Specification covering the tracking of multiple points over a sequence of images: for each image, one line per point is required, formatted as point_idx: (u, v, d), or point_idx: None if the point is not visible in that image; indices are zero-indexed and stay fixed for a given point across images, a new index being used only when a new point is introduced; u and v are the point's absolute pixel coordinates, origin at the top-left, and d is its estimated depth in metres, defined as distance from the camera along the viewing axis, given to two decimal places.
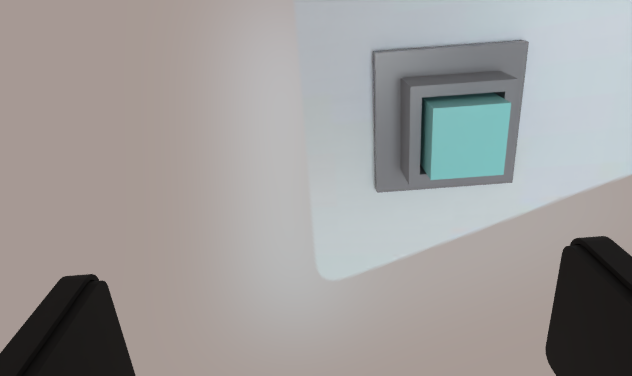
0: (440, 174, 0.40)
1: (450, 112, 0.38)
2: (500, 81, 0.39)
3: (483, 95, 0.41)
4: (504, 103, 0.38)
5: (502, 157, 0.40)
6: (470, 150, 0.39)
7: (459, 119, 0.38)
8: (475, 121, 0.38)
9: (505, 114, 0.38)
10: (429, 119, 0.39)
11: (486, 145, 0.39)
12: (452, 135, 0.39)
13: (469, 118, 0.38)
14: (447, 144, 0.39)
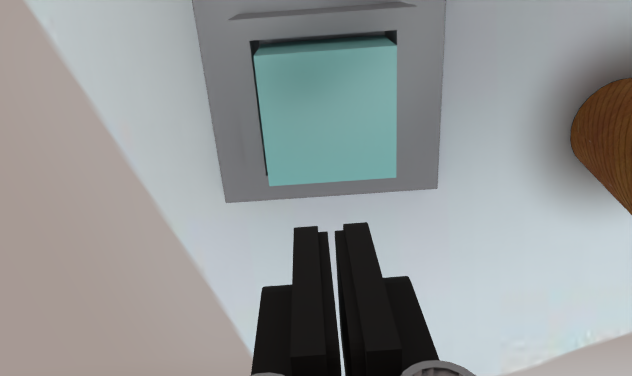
0: (266, 74, 0.21)
1: (387, 78, 0.21)
2: (412, 156, 0.25)
3: None
4: (395, 167, 0.23)
5: (301, 179, 0.23)
6: (313, 124, 0.22)
7: (373, 96, 0.21)
8: (367, 125, 0.22)
9: (377, 171, 0.23)
10: (366, 44, 0.22)
11: (323, 150, 0.23)
12: (343, 87, 0.21)
13: (374, 113, 0.22)
14: (326, 81, 0.21)
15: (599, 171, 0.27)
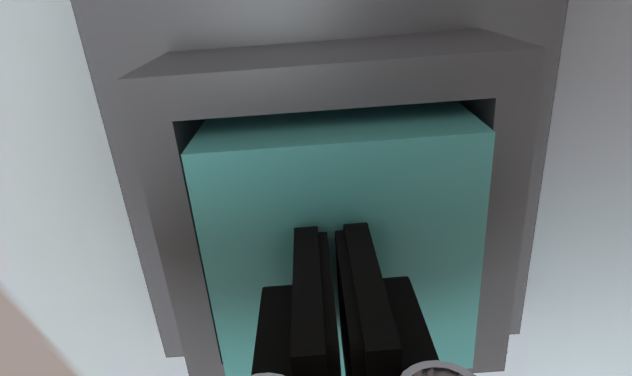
0: (210, 190, 0.10)
1: (468, 197, 0.10)
2: (504, 330, 0.13)
3: None
4: (471, 350, 0.12)
5: None
6: None
7: (438, 229, 0.10)
8: (422, 282, 0.11)
9: None
10: (421, 121, 0.10)
11: None
12: (375, 215, 0.10)
13: (437, 260, 0.11)
14: (340, 202, 0.10)
15: None
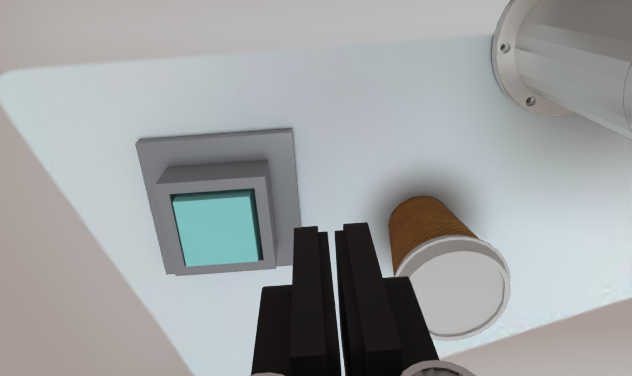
0: (180, 210, 0.39)
1: (246, 212, 0.39)
2: (272, 254, 0.42)
3: (259, 232, 0.43)
4: (257, 256, 0.41)
5: (204, 262, 0.41)
6: (208, 234, 0.40)
7: (240, 220, 0.39)
8: (238, 235, 0.40)
9: (247, 258, 0.41)
10: (236, 192, 0.40)
11: (215, 247, 0.40)
12: (223, 216, 0.39)
13: (241, 228, 0.40)
14: (213, 213, 0.39)
15: None
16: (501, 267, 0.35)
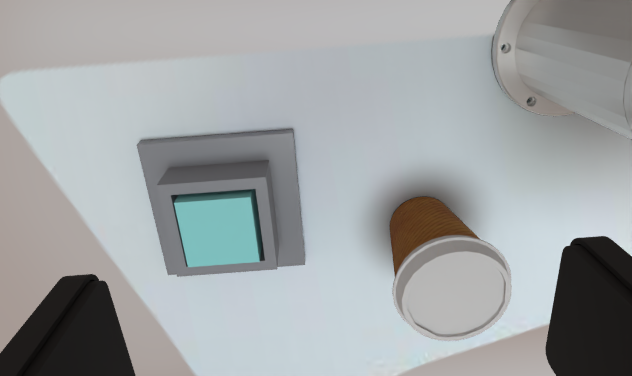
0: (181, 211, 0.39)
1: (247, 212, 0.39)
2: (273, 255, 0.42)
3: (260, 233, 0.43)
4: (258, 256, 0.41)
5: (205, 263, 0.41)
6: (209, 235, 0.40)
7: (241, 221, 0.39)
8: (239, 235, 0.40)
9: (248, 259, 0.41)
10: (237, 192, 0.40)
11: (216, 248, 0.41)
12: (224, 217, 0.39)
13: (242, 229, 0.40)
14: (214, 214, 0.39)
15: None
16: (502, 267, 0.35)
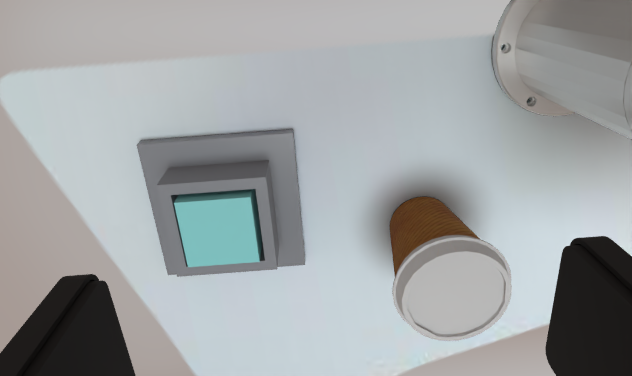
0: (181, 211, 0.39)
1: (247, 212, 0.39)
2: (273, 255, 0.42)
3: (260, 233, 0.43)
4: (258, 256, 0.41)
5: (205, 263, 0.41)
6: (209, 235, 0.40)
7: (241, 221, 0.39)
8: (239, 235, 0.40)
9: (248, 259, 0.41)
10: (237, 192, 0.40)
11: (216, 248, 0.41)
12: (224, 217, 0.39)
13: (242, 229, 0.40)
14: (214, 214, 0.39)
15: None
16: (502, 267, 0.35)
